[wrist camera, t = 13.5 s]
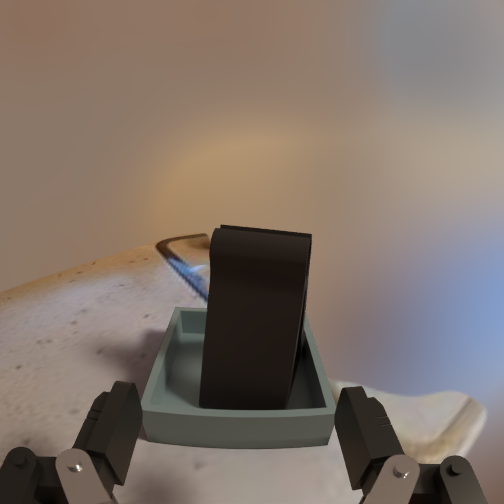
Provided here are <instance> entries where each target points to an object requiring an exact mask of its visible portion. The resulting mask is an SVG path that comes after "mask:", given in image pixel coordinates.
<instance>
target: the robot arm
mask: <svg viewBox="0 0 504 504" xmlns="http://www.w3.org/2000/svg"><path fill="white" fill-rule="evenodd" d="M142 419H143V411H142V406H141V403H140V399H139V395H138V392H137V388H136V385H135V384H134V383H128V382H121V381H116V382H115V383H114V385H113V387H112V389H111V391H110V392H103V393H101V394H100V395H99V396H98V397H97V398H96V399H95V400H94V402H93V404H92V406H91V408H90V411H89V413H88V415H87V419H85V421H84V423H83V426H82V428H81V430H80V432H79V434H78V436H77V439H76V441H75V443H74V445H73V447H72V448H71V449H67V450H65V451H63V452H61V453H60V454H59V455H58V457H37V456H35V454H34V453H33V452H32V451H31V450H30V449H28V448H25V447H17V448H14V449H12V450H11V451H10V452H9V453H8V454H7V456H6V458H5V460H4V462H3V465H2V467H1V469H0V504H119V503H118V502H117V500H116V498H115V496H114V494H113V492H112V491H113V488H114V484H117V485H121V486H124V483H125V479H126V476H127V472H128V468H129V465H130V461H131V458H132V454H133V451H134V447H135V444H136V440H137V437H138V434H139V430H140V427H141V424H142ZM334 424H335V429H336V432H337V436H338V439H339V443H340V446H341V450H342V454H343V457H344V461H345V464H346V468H347V472H348V475H349V479H350V483H351V487H352V490H358V489H362V492H363V496H362V498H361V500H360V502H359V503H358V504H487V501H486V499H485V496H484V494H483V492H482V489H481V487H480V485H479V483H478V480H477V478H476V476H475V474H474V471H473V469H472V467H471V465H470V463H469V462H468V461H467V460H466V459H465V458H463V457H461V456H456V455H455V456H449V457H447V458H445V459H444V460H443V462H442V463H441V464H420V463H417V461H416V460H415V459H413V458H412V457H410V456H407V455H405V454H404V452H403V450H402V447H401V445H400V443H399V440H398V438H397V436H396V434H395V431H394V429H393V427H392V425H391V422H390V420H389V418H388V417H387V414H386V411H385V409H384V407H383V405H382V404H381V403H380V402H379V401H378V400H377V399H375V398H374V397H371V398H367V396H366V393H365V391H364V389H363V387H362V386H357V387H347V388H343V389H342V390H341V394H340V397H339V401H338V404H337V407H336V411H335V415H334Z"/></svg>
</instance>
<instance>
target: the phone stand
mask: <svg viewBox="0 0 504 504" xmlns="http://www.w3.org/2000/svg"><path fill="white" fill-rule="evenodd" d="M311 245H312V234H306V233H297V232H288V231H279V230H269V229H260V228H249V227H239V226H230V225H221V227H220V228H215V230H214V232H213V235H212V238H211V242H210V252H209V257H210V286H209V295H208V305H207V315H206V325H205V335H204V346H203V357H202V369H201V381H200V394H199V406H201V407H205V408H208V409H217V410H286V409H287V406H288V402H289V398H290V394H291V391H292V387H293V383H294V379H295V375H296V371H297V367H298V363H299V359H300V355H301V349H302V340H303V330H304V321H305V310H306V299H307V287H308V276H309V265H310V256H311Z"/></svg>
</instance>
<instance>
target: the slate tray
mask: <svg viewBox="0 0 504 504" xmlns="http://www.w3.org/2000/svg"><path fill="white" fill-rule="evenodd" d="M206 315H207V308H185V307H175V309H174V312H173V315H172V317H171V320H170V322H169V325H168V328H167V330H166V333H165V336H164V338H163V341H162V344H161V346H160V349H159V352H158V354H157V357H156V360H155V363H154V365H153V368H152V371H151V374H150V377H149V380H148V382H147V385H146V388H145V391H144V394H143V397H142V400H141V406H142V411H143V419H142V423H143V426H144V430H145V433H146V436H147V439H148V441H149V442H157V443H164V444H173V445H183V446H194V447H209V448H232V449H272V448H295V447H310V446H321V445H328V442H329V439H330V436H331V433H332V430H333V427H334V415H335V411H336V405H335V402H334V399H333V396H332V392H331V389H330V386H329V383H328V380H327V377H326V373H325V370H324V367H323V364H322V361H321V358H320V355H319V352H318V349H317V346H316V343H315V340H314V336H313V334H312V330H311V328H310V324H309V321H308V319H307V316H306V312H305V321H304V330H303V340H302V349H301V355H300V359H299V363H298V367H297V371H296V375H295V379H294V383H293V387H292V391H291V394H290V398H289V402H288V406H287V409H286V410H217V409H208V408H205V407H201V406H199V394H200V381H201V369H202V357H203V346H204V335H205V325H206Z"/></svg>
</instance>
